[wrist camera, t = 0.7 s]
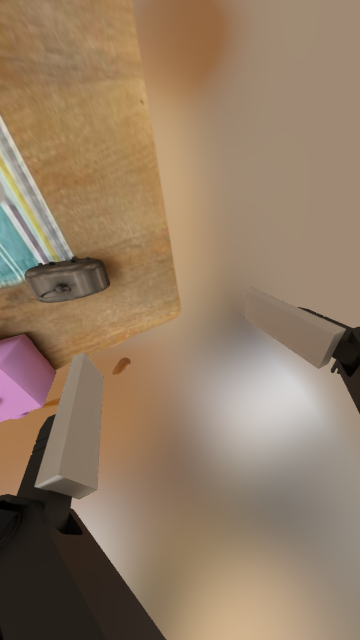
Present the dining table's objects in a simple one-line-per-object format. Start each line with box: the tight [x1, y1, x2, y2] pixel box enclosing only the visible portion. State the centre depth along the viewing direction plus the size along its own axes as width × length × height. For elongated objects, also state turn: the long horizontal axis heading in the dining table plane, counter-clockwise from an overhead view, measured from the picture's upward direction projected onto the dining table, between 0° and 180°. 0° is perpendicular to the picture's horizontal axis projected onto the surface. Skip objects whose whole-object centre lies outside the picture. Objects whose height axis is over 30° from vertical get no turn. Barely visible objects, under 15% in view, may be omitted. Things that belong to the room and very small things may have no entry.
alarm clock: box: [25, 256, 110, 303], centre depth 25 cm, size 11×5×16 cm, turn 94°
